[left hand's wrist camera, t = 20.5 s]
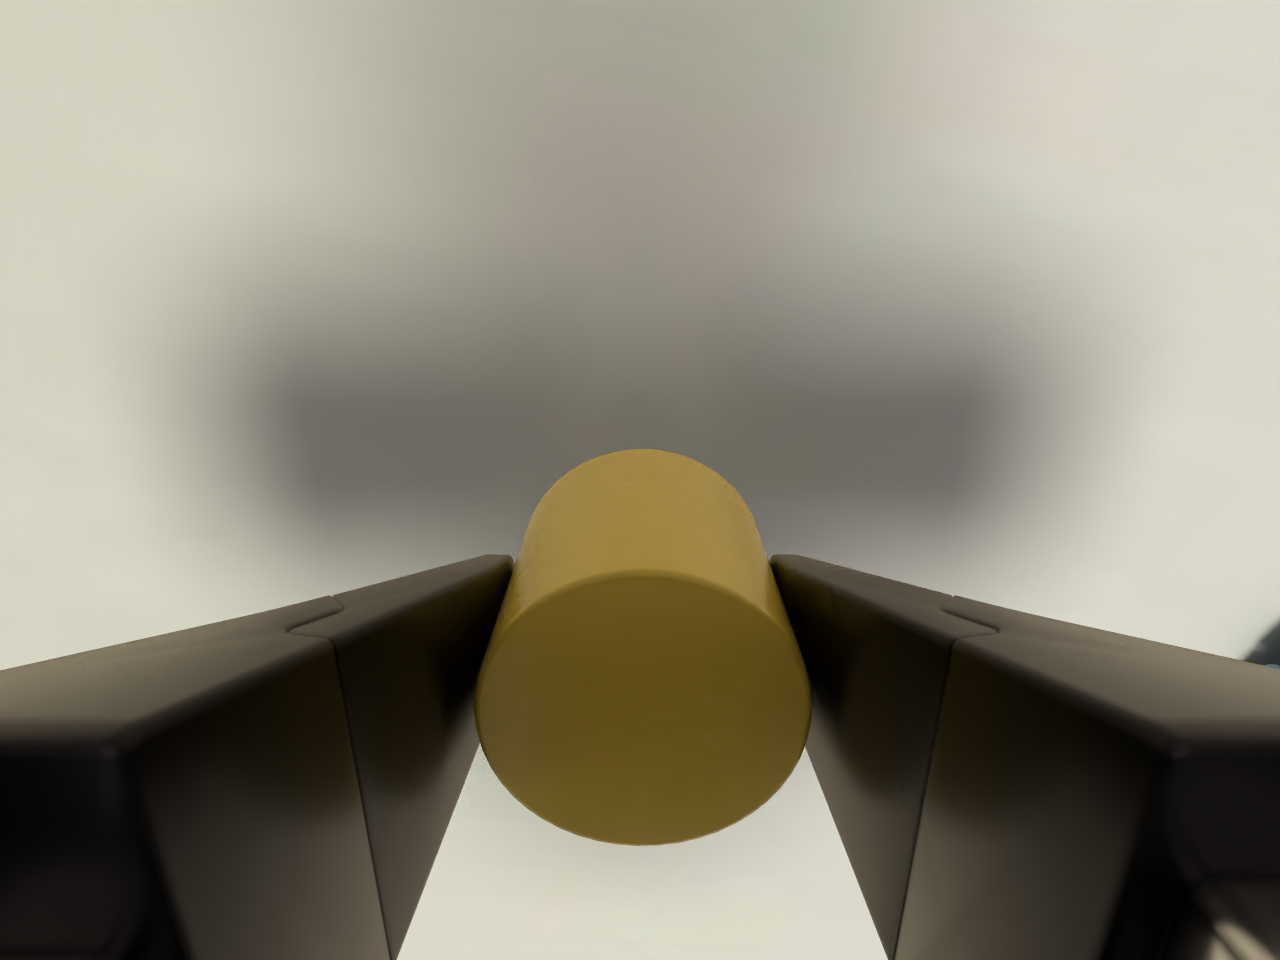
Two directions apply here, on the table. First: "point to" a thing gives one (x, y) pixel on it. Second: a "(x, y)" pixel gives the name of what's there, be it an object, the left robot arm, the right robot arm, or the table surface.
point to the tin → (642, 657)
